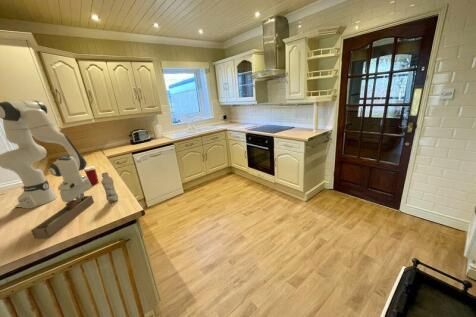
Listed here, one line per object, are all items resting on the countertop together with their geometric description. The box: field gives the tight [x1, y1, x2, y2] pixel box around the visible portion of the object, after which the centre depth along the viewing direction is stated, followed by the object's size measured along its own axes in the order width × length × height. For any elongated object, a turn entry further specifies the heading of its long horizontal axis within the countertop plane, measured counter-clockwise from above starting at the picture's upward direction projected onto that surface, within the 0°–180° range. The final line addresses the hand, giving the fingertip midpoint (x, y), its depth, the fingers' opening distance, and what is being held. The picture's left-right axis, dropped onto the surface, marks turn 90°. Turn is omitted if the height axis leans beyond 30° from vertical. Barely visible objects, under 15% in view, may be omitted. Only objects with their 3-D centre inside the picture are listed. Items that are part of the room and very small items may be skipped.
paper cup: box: [83, 165, 100, 186], centre depth 164 cm, size 8×8×14 cm
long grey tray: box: [30, 195, 95, 240], centre depth 118 cm, size 8×34×5 cm, turn 0°
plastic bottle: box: [100, 172, 119, 203], centre depth 131 cm, size 6×7×20 cm
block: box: [65, 199, 80, 211], centre depth 123 cm, size 4×4×4 cm
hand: (81, 200), depth 129 cm, fingers closed
